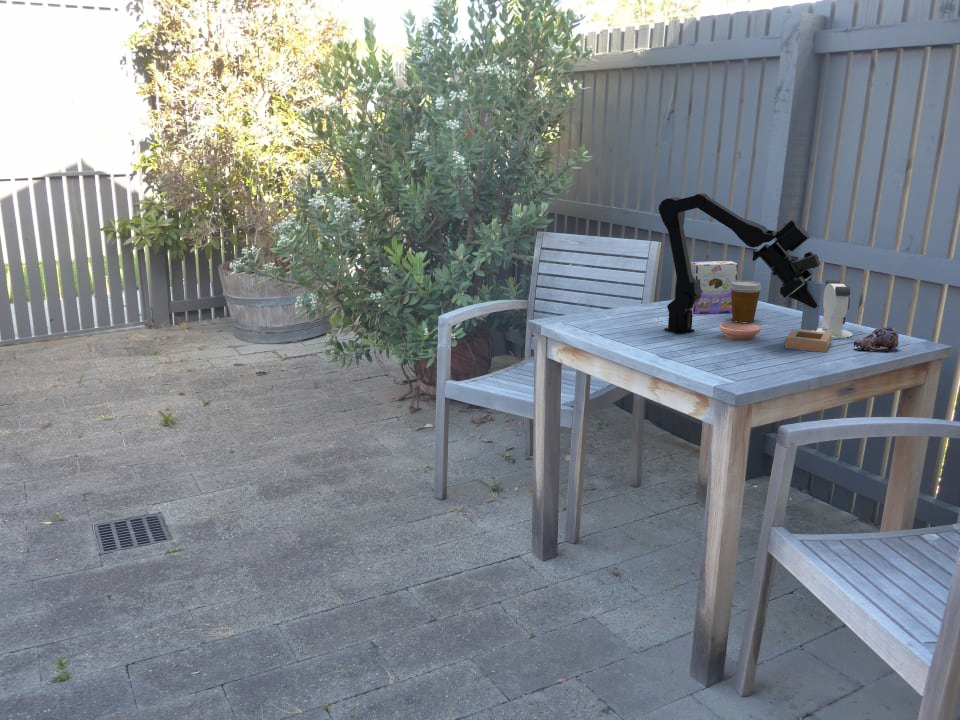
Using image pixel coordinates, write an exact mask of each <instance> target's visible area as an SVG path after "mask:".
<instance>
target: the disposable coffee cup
mask: <svg viewBox="0 0 960 720" xmlns="http://www.w3.org/2000/svg"><path fill="white" fill-rule="evenodd" d="M730 289H731V300H732V313H731V315H732V316H731V317H732V318H731V319H732V322H734V321H737V322H747V323H746V324H751V323H754V320H755V316H756V312H757V311H756V310H757V307H758V301H759V297H760V293H761V291H762V289H763V288H762V283H760V282H757V281H752V280H736V281H734V282H732V283H731V286H730ZM737 322H736V323H737Z"/></svg>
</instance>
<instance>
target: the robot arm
mask: <svg viewBox="0 0 960 720" xmlns="http://www.w3.org/2000/svg"><path fill="white" fill-rule="evenodd" d="M659 203H660V204H659V205H658V212H659V216H660V218H661V221H662V223H663V225H664V227H665V228H666V230H667V233H668V238H669V243H670V248H671V249H670V250H671V253H672V259H673V265H674V271H675V275H676V279H675V280H676V282H675V289H674V291H675V292H674V295H675V296H674V297H675V298H674V299H673V300H671V302H669V303H668V304H667V306H666V307H667V311H668V321H667V324H668V326H667V327H664V331H667V332H671V333H675V334H678V335H679V334H681V335H682V334H686V333H691V332H693V333H695V329H694V328H692V327H693V315H694V314H693V313H692V310H690V309H692V308H693V306H694V304H696V303H697V302H698V301H699V300H700V298H701V293H702V292H703V291H702V290H701V287H700V279H698V280H695V279H694V277H693V275H692V272H691V262H690V257H689V252H688V251H689V250H688V246H687V240H686V235H685V229H684V225H685V218H686V217H685V216H686V211H687V212H688V211H691V210H694V209H698V210H700V211H702V212H703V213H704V214H706V215H708V216H710V217H711V218H713V219H714V220H715V221H717V222H718V223H720V224H722V225H724V226H725V227H727V228H729V230H731V231H732V233H733V232H734V234H735V235H736V237H738V239H740V240H741V241H742V242H743V243H744V244H745V245H746V246H748V247H749V248H759V246H762V245H763V246H762V247H761V248H760V249H755V250H753V251H752V261H753V262H755V261H757V260H758V259H759V258H760V259H761V260H762V261H763V262H764V263H765V265H767V267H768V268H769V269H770V270H771V271H772V272H771V274H772V276H776V277H777V278H778V279H779V280H780V281H781V285H782V286H781V287H780V288H779V293H780V294H781V296H782V297H783V298H787V297H788V298H791V299H794V300H796V301H798V302H799V303H802V304H806V305H808V306H810V307H812V308H816V307H817V306H818V305H817V304H816V302H815V300H814V299H813V297H812V296H811V294H810V292H809V291H808V289H807V288H808V280H810V281H813V274H814V272H813V271H812V270H811V269H815V268H818V267H819V266H821V262H820V258H819V256H818V254H817V253H813V252H812V251H807V252H805V253H804V255H803V257H802V258H800V259H798V260H796V258H794V257H790V256H789V255H788V254H787V253H786V252H788V251H790V252H794V251H795V250H796V249H798V248H799V247H800V246H802V245H803V244H804V243H805V242H806V241H808V240H809V239H810V235H809V233H808V232H807V230H806V229H805V228H804V227H803V226H801V225H800V224H798V222H796V221H795V220H794V219H790V221H789V222H787V223H786V225H785V226H784V227H782V228H781V229H780V230H779V231H776V230H770V229H768V228H767V227H766V226H764V225H763V224H760V223H758V222H755V221H752V220H749V219H746V218H745V217H744V218H743V217H741V216H740V215H738V214H737V213H735V212H734V211H732V210H730V209H728V208H727V207H725V206H724V205H723V204H721V203H719V202H717V201H716V200H714V199H713V198H711V197H710V196H708V194H706V193H703V192H702V193H701V192H700V193H698V194H696V193H695V195H692V196H691V195H690V196H688V197H687V196H686V197H684V198H680V197H677V196H672V197H667V198H664V199H663V200H662V201H661V202H659ZM775 239H776V240H775ZM774 240H775V242H773V243H772V244H768V243H770V242H772V241H774ZM766 243H767V244H766ZM764 244H765V245H764Z"/></svg>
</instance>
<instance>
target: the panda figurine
mask: <svg viewBox="0 0 960 720" xmlns="http://www.w3.org/2000/svg"><path fill="white" fill-rule="evenodd" d="M824 286H825V287H824V293H823V296H822V298H823V299H822V305H823V306H822V307H823V317H822V323H821V327H818V329H817V331H814V332H823V333H832V339H839V338H840V339H848V338H847V337H849V338H851V337H850V336H852V337H853V332H852V331H851V332H850V331H848V330H845V329H843V326H844V325H845V323H846V318H847V317H846V314H847V312H848V311H849V310H850V302H851V301H850V295H851V287H850V286H846V285H845V284H844V283H840V280H826V281H825V285H824ZM840 339H839V340H840Z"/></svg>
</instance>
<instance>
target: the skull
mask: <svg viewBox="0 0 960 720" xmlns="http://www.w3.org/2000/svg"><path fill="white" fill-rule="evenodd" d="M899 336H900V335H899V333H898V331H897V329H896V328H895V327H892V326H891V327H877V328H875V329H874V330H873V331H872V332H870V333H869V334H867V335H866V336H865V337H862V338H857V339H855V340H853V345H852V346H853V347H854V348H855V347H856V348H859V350H860V351H861V350H862V349H863V351H864V350H876V351H877V352H878V351H881V350H882V351H883V350H885V351H887V350H891V351H893V350H895V349H896V348H897V347H898V346H899Z"/></svg>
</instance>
